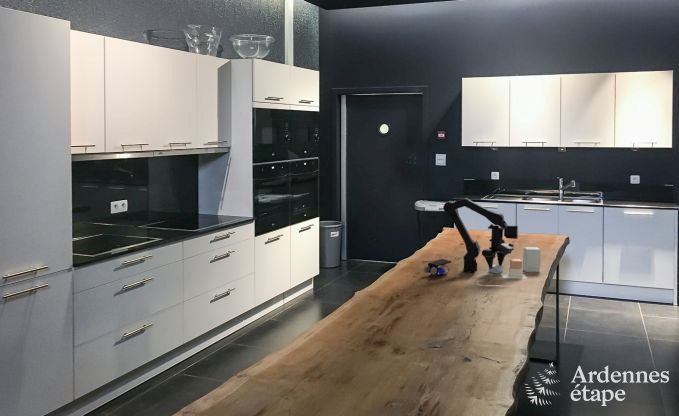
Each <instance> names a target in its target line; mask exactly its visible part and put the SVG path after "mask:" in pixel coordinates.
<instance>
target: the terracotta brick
mask: <svg viewBox="0 0 679 416" xmlns="http://www.w3.org/2000/svg"><path fill="white" fill-rule="evenodd" d="M509 266H510V267H511V269H522V267H523V260H522V259H520V258H510V262H509Z"/></svg>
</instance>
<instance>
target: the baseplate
mask: <svg viewBox="0 0 679 416" xmlns="http://www.w3.org/2000/svg"><path fill="white" fill-rule="evenodd" d="M499 274H500V276H501V277H502V279H519V280H528V277H527V276H526V274H524V273H523V277H510V276H509V273H503V272H501V273H499Z"/></svg>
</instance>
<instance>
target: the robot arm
mask: <svg viewBox="0 0 679 416" xmlns="http://www.w3.org/2000/svg"><path fill="white" fill-rule="evenodd" d="M464 207H465V208H467V209H470V210H471V211H473V212H475V213H477V214H479V215H481V216H483V217H485V218H486V219H487V220H488V221H489V222H491V224H490V225H489V226H487V229H488V230H491V234H490V235H491V236H490V239H489V242H490V246H489V247H488V248H485V249H482V251H481V246H480V244H479V242H478V240H476V241H474V240H473V239H472V237H471V235H470V233H469V231H468V230H467V227H466V226H465V224H464V222H463V220H462V219H461V217H460V214H459V210H458V209H460V208H461V209H462V208H464ZM442 208H443V211H444V213H446V215H447V216H448V218H450V219H451V221H452V223H453V224H454V226H455V227H456V230H457V231H458V234H459V235H460V236H461V238H462V240H463V242H464V245H465V249H466V253H465V254H464V255H463V256H462V257H463V258H462V259H463V266H462V267H463V268H462V271H463V273H475V271H476V272H477V271H478V261H477V257H478V256H479V255H480V253H481V256H483V258H484V260H485V261H486V263H487V266H488V269H489V268H490V269H492V266H493V265H494V259H496V258H497V262H498V263H497V264H498V265H499V266H503V262H504V260H505V258H506V256H507V255H509V254H512V253H513V251H514V250H515V249H514V246H515V245H514V243H512V242H511V243H506V241H505V239H511V240H518V239H519V238H518V237H519V231H518V225H508V223H507V222H506V220H505V217H504V214H502V213H501V212H498V211H495V210H491V209H488V208H486V207H484V206H482V205H480V204H478V203H477V202H474V201H472V200H471V199H469V198H467V197H465V198H462V199H458V200H455V201H453V200H448V201H447V202H445V203H444V204H443V207H442ZM504 238H505V239H504Z"/></svg>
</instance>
